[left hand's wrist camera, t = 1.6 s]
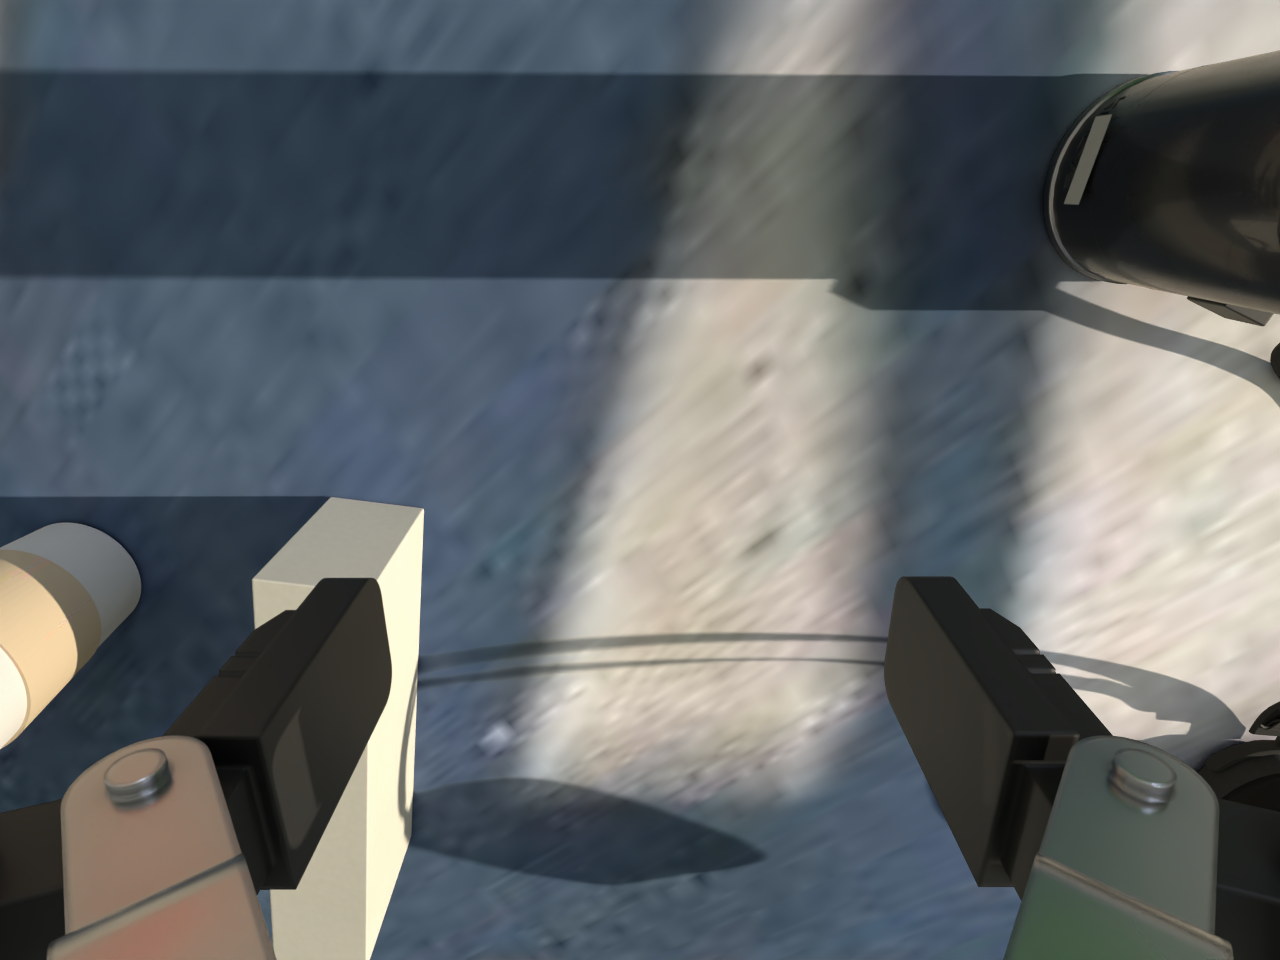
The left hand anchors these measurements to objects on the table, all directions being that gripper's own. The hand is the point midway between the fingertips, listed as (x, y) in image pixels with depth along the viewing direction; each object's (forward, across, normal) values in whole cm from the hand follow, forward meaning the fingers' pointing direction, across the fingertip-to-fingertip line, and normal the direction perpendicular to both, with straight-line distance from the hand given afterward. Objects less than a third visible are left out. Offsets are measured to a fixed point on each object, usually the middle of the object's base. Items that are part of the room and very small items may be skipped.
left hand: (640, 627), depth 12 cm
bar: (+28, -17, -23) cm, 40 cm away
